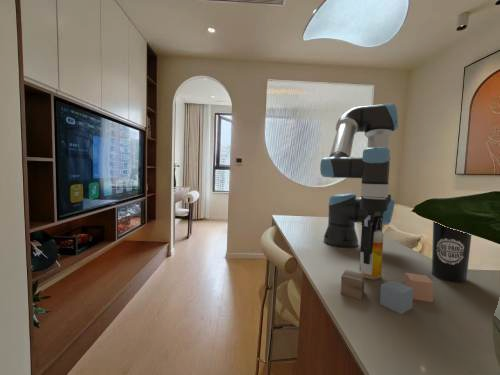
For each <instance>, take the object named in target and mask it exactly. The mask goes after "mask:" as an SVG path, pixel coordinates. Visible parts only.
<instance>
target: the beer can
mask: <svg viewBox="0 0 500 375" xmlns="http://www.w3.org/2000/svg"><path fill="white" fill-rule="evenodd" d="M383 245H384V233H383V229H382V230H381V229H380V230H377V231H375V232H374V239H373V248H372V253H373V267H372V275H369V274H366V273H362V261H363V252H360V256H359V259H360V260H359V261H360V262H359V263H360V264H359V273H362V274H365V279H368V280H373V281H374V280H379V279H380V278H381V277H382V270H383V269H382V268H383V250H384V248H383V247H384V246H383Z"/></svg>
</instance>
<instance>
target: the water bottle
mask: <svg viewBox="0 0 500 375" xmlns="http://www.w3.org/2000/svg"><path fill="white" fill-rule="evenodd" d="M471 242H472V235H469V234H467V233H463V232H460V231H457V230H453V229H450V228H447V227H444V226H442V225H440V224H438V223H435V222H433V221H432V249H431V251H432V253H431V254H432V255H431V256H432V257H431V262H432V263H431V274H432V275H433V276H434V277H436V278H438V279H441V280H442V281H446V282H451V283H459V284H460V283H466V282H467V279H468V278H467V277H468V269H469V261H470V252H471V251H470V250H471V244H472V243H471Z"/></svg>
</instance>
